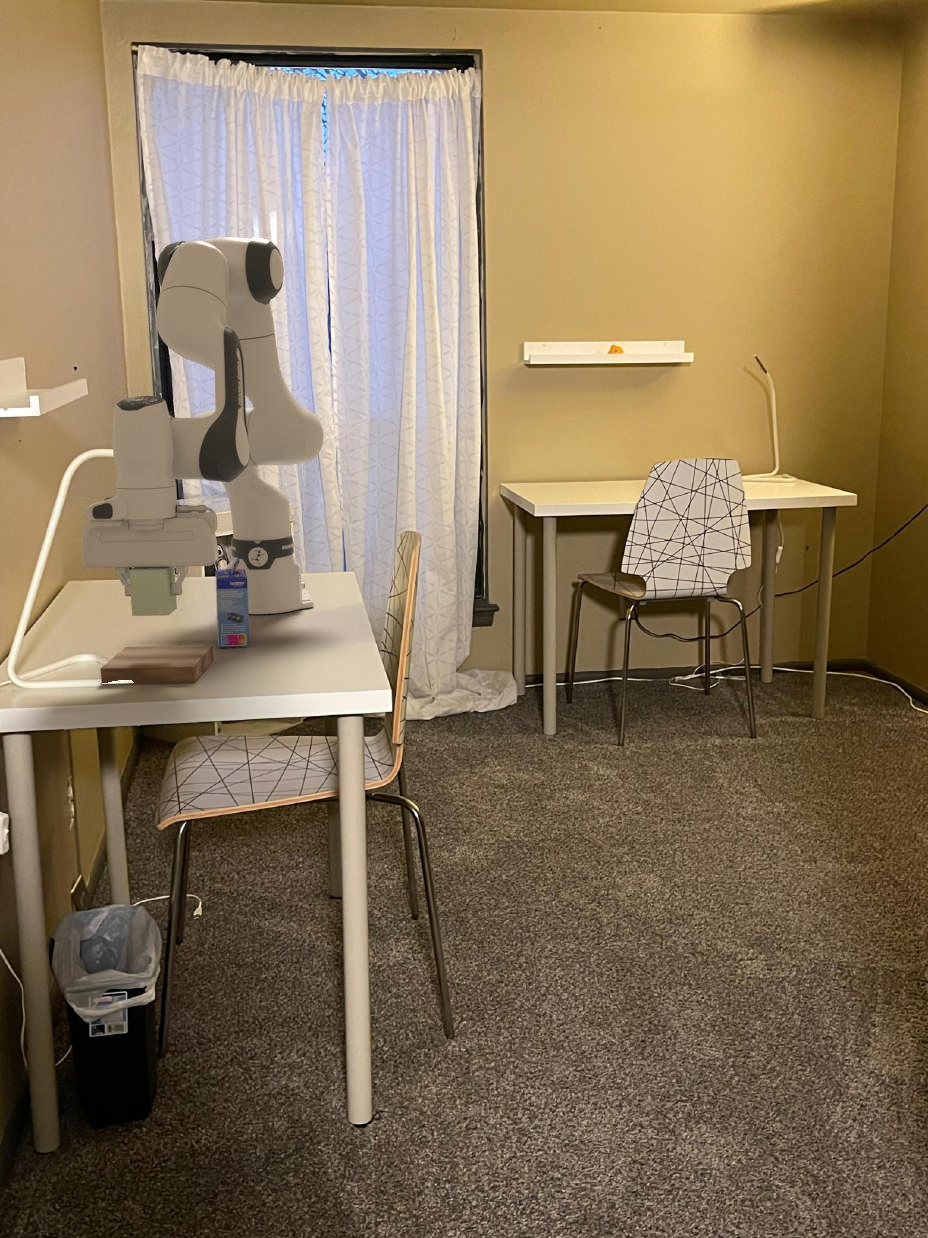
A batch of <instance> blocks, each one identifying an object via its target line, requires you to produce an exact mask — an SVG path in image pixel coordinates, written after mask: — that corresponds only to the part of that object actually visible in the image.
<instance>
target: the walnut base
mask: <svg viewBox="0 0 928 1238" xmlns="http://www.w3.org/2000/svg"><path fill="white" fill-rule="evenodd" d="M213 648H214V647H213V644H212V645H211V644H209V645H208V644H207V645H206V644H204V645H202V644H201V645H156V646H154V645H152V646H150V645H149V646H146V645H145V646H125V647H124V648H123V649H122V650H120V652H119V651H118V653H117V654H116V655H114V656H113V657H112V658H111V659H110V660H108V661H107V662H106V663H105V664H104V665H103V666H102V667H101V668H99V669H100V679H101V681H100V682H101V684H102V683H108V682H112V681H118V680H132V681H133V682H134V684H133V685H145V684H147V685H150V684H151V685H152V684H153V685H154V684H156V685H157V684H159V685H160V684H161V685H162V684H195V683H196V682H197V681H198V680H199V679H200V678H201V676H202V675H203V674H204V672H205V671H206V670H208V668H209V666H210V665H211V664H212V663H213V662H214V649H213Z"/></svg>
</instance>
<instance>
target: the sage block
mask: <svg viewBox="0 0 928 1238" xmlns="http://www.w3.org/2000/svg"><path fill="white" fill-rule="evenodd" d="M128 570H129V572H128V575H129V576H128V578H129V580H130V591H131V596H130V602H131V603H130V604H131V614H132V617H148V616H149V617H151V616H153V617H155V616H156V617H157V616H170V615H171V614H172V613H173V612H174V611H176V610H177V609H178V606H177V605H178V604H177V596H171V595H170V591H171V590H170V584H171V583H176V578H175V577H176V575H175V574H176V571H175V567H131V569H128Z"/></svg>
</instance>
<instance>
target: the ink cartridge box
mask: <svg viewBox="0 0 928 1238" xmlns="http://www.w3.org/2000/svg"><path fill="white" fill-rule="evenodd" d="M239 562H240V560H239V557H238V558H237V560H236V561H235V563H234V565H233V568H232V569H225V568H223V569H216V570H215V573H214V574H215V595H216V596H215V597H216V599H215V600H216V630H217V631H216V632H217V635H216V636H217V646H218V648H222V649H223V648H224V649H225V648H226V649H227V648H248V647H250V618H249V617H250V616H249V615H250V614H249V611H248V584H247V575H246V572H245V569H236V568H237V566H238V564H239Z"/></svg>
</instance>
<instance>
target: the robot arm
mask: <svg viewBox="0 0 928 1238" xmlns="http://www.w3.org/2000/svg"><path fill="white" fill-rule="evenodd" d="M156 269H157V278H158V283H159V285H160V292H159V297H158V302H157V307H156V313H155V314H156V316H155V318H156V319H155V320H156V321H155V322H156V323H155V324H156V329H157V332H158V335H159V337H160V338H161V340H162V341H163V343H164V344H165V345H166V347H168V348H169V349H170V350H172V352H174V353H175V354H177V355H178V356H180V357H182V358H183V359H186V360H188V361H190V362H193V363H196V364H199V365H202V366H204V367H207V368H208V369H210V370H212V371H214V397H215V400H214V401H215V403H214V404H215V409H213V410H208V411H204V412H201V413H199V414H198V415H197V416H196V417H172V415H170V413H169V409H168V404H167V401H166V400H165V399H164V398H162V397H159V396H154V395H141V396H134V397H128V398H124V399H122V400H120V401H119V402H117V403H116V404H115V405H114V410H113V417H112V418H113V419H112V454H113V455H112V457H113V460H114V461H113V462H114V463H115V467H116V471H117V473H116V475H117V476H116V481H115V496H114V497H113V496H111V497H110V496H109V497H106V498H104V500H103V499H102V500H101V501H98V502H94V503H92V504H91V505H88V506H87V507H86V508H85V511H84V513H85V517H86V519H87V520H88V522H86V524H85V525H84V527H83V529H82V534H81V535H82V536H81V560H82V562H83V564H84V565H85V566H86V567H87V568H89V569H99V568H100V569H106V568H111V569H112V568H115V576H117V578H118V580H119V582H120V583H121V584H122V585H123V587H124V595H125V597H131V591H130V578H129V576H128V575H127V573H129V570H130V569H129V568H134V567H174V568H175V574H179V575H178V577H177V579H176V580H175V583H171V584H170V590H171V591H170V595H171V596H176V597H177V596H181V595H182V594H183V582H184V580H185V579H186V576H187V575H188V573H189V567H210V566H213V565H214V564H215V563H216V562H217V561H218V559H219V546H218V540H217V536H216V535H217V534H216V531H217V530H218V516H217V513H216V512H215V511H214V510H213V508H210V507H207V505H205V504H198V505H190V504H182V505H181V504H178V497H177V496H178V495H177V493H178V492H177V483H176V480H206V481H212V482H221V483H222V484H223V486H224V489H225V491H226V494H227V496H228V501H229V506H230V513H231V522H232V524H231V525H232V538H231V540H230V541H231V545H230V549H231V556H232V559H231V561H230V563H228V564H227V565H226V566H225V568H224V569H232V568H233V565H234V563H235V561H236V560H237V558H238V557H239V560H240V562H239V564H238V566H237V568H236V569H245V572H246V575H247V584H248V611H249V615H264V614H265V615H268V614H270V615H271V614H280V613H286V612H287V613H288V612H292V611H296V610H302V609H308V608H314V601H313V599H312V596H311V594H310V592H309V590H308V589H306V584H305V582H304V581H302V567H301V565H300V564H299V562H298V561H296V559H295V557H294V553H295V549H294V548H295V547H294V546H295V543H294V537H293V536H292V535H291V519H290V501H289V498H288V496H287V495H286V493H285V492H284V491H283V490H282V489H281V488H279V487H277V486H276V485H274V484H272V483H270V482H268V481H266V480H265V479H264V478H263V477H262V475H261V473H260V470H259V466H293V465H299V464H303V463H308V462H311V461H314V460H315V459H316V458H317V457H318V455H319V454H320V452H321V450H322V447H323V443H324V429H323V425H322V423H321V422H320V419H319V418H318V416H317V415H315V413H314V412H313V411H311V410H310V409H309V408H306V407H305V406H304V405H303V404H302V403H301V402H299V401H298V399H297V398H296V397H295V395H293V393H292V392H291V390H290V388H289V387H288V385H287V384H286V382H285V378H284V377H283V374H282V370H281V366H280V360H279V354H278V348H277V339H276V333H275V332H276V331H275V324H274V318H273V312H272V307H271V300H272V299H274V298H276V297H277V296H278V294H279V293H280V292H281V290H282V288H283V284H284V276H285V275H284V274H285V267H284V263H283V258H282V254H281V252H280V249H279V248H278V247H277V246H276V244H274V242H273V241H272V240H268V239H266V238H260V237H252V238H244V237H243V238H242V237H230V236H229V237H228V236H225V237H223V236H222V237H219V236H218V237H216V238H206V239H197V240H191V241H186V240H179V241H175V242H173V243H169V244H167V245H166V246H165V247H164V248H163V249H162V251H161V252H160V253H159V256H158V259H157V268H156ZM246 398H247V399H248V401H250V403H251V405H252V407H246Z"/></svg>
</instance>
